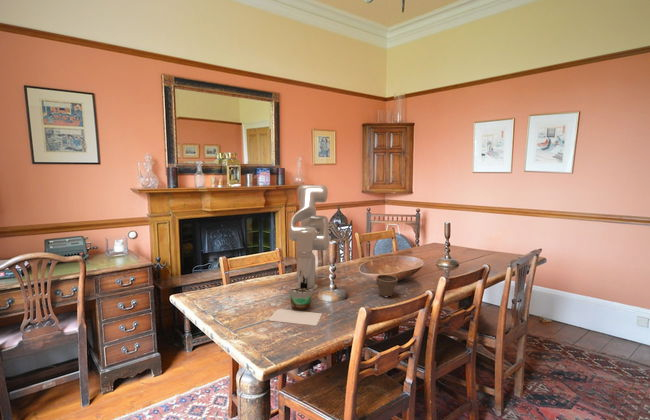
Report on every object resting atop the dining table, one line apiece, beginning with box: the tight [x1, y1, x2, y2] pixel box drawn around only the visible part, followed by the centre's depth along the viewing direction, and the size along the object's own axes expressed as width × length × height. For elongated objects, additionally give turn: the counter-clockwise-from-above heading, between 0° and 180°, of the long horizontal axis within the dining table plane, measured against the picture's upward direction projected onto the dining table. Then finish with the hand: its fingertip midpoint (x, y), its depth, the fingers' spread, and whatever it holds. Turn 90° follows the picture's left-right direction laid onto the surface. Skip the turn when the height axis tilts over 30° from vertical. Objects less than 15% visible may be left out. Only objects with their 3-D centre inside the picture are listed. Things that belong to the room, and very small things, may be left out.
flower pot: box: [375, 274, 399, 297], centre depth 196 cm, size 12×11×10 cm
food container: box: [288, 286, 315, 311], centre depth 174 cm, size 12×6×10 cm, turn 105°
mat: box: [268, 308, 323, 327], centre depth 165 cm, size 13×22×1 cm, turn 79°
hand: (303, 290), depth 178 cm, fingers closed
